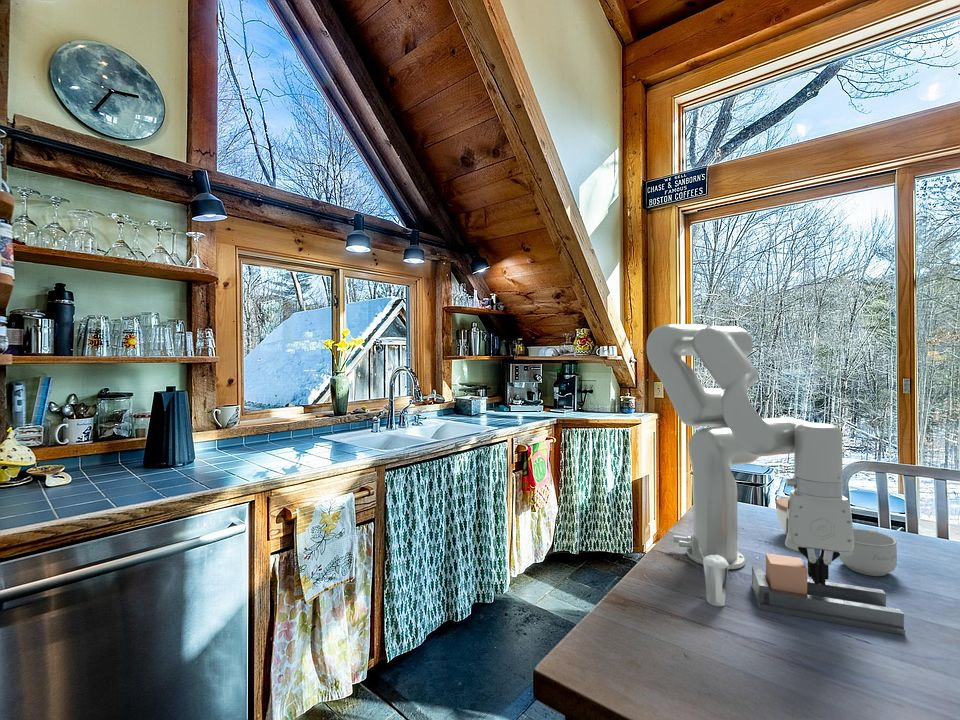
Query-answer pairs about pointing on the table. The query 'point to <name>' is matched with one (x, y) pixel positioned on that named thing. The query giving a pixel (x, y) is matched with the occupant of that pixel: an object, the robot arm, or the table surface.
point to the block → (786, 573)
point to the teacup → (872, 553)
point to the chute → (831, 604)
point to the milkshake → (715, 578)
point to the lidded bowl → (782, 512)
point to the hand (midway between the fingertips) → (817, 581)
